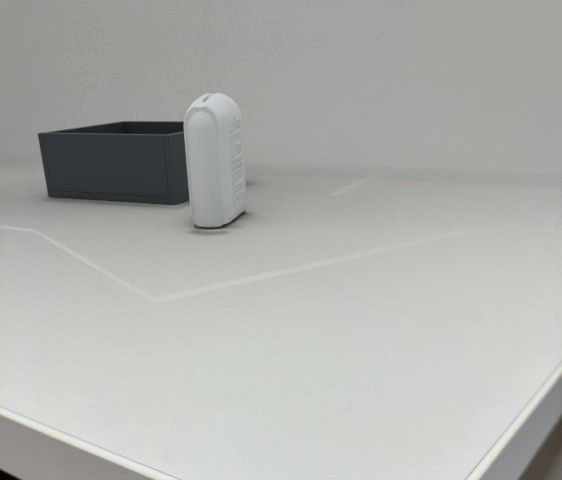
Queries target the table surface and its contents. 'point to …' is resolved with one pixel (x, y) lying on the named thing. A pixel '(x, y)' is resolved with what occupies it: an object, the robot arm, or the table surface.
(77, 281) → the table surface
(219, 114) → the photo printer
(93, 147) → the bin
